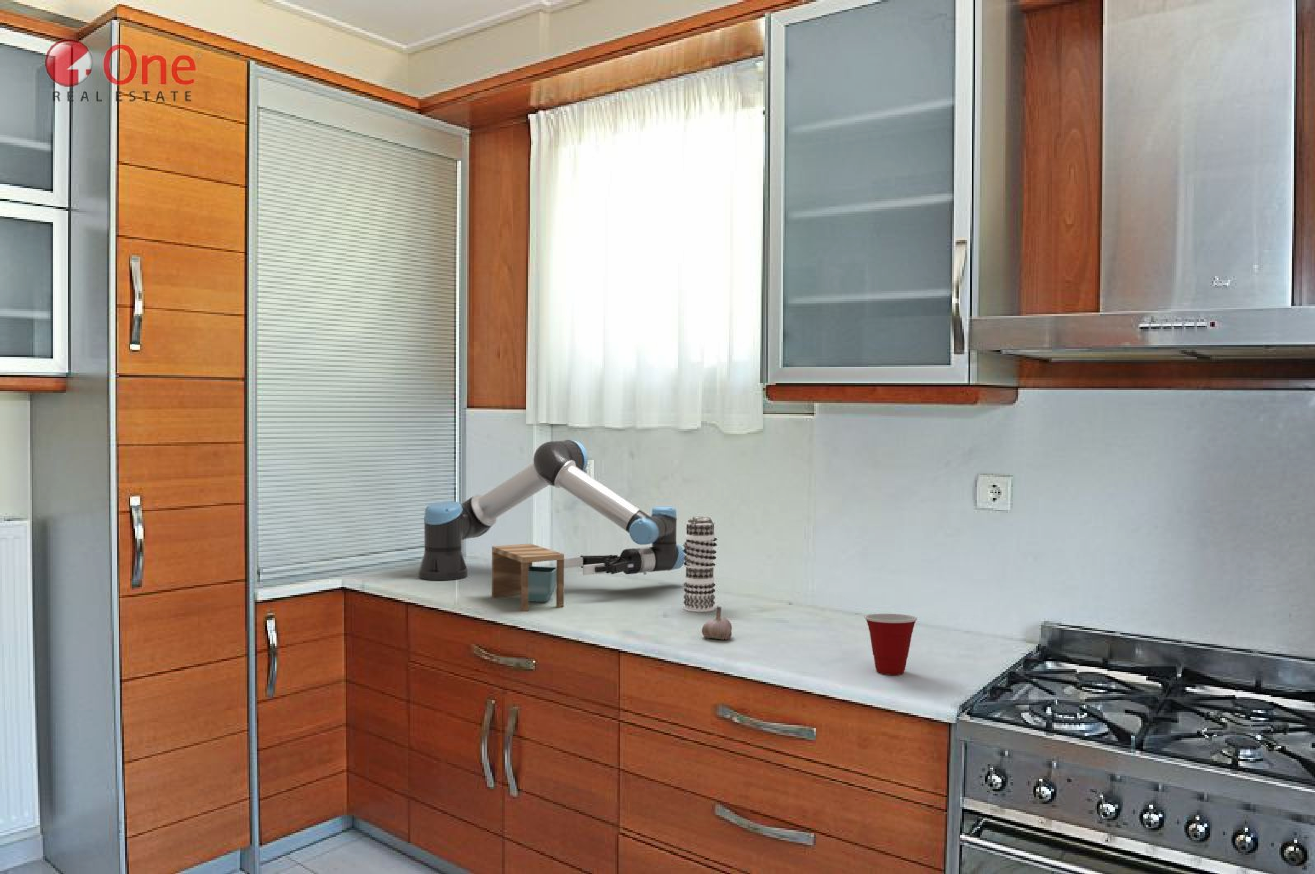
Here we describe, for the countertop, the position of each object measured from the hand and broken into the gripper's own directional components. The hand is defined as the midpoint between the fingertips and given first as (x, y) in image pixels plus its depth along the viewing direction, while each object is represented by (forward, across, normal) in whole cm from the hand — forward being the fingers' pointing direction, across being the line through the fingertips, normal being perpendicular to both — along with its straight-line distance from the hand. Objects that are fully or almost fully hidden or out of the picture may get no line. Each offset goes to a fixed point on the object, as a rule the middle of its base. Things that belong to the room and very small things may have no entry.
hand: (572, 566), depth 280 cm
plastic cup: (-23, -103, -10) cm, 106 cm away
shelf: (+14, 0, -9) cm, 17 cm away
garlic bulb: (-8, -61, -10) cm, 62 cm away
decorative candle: (-23, -31, -9) cm, 40 cm away
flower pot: (+10, 0, -9) cm, 14 cm away
